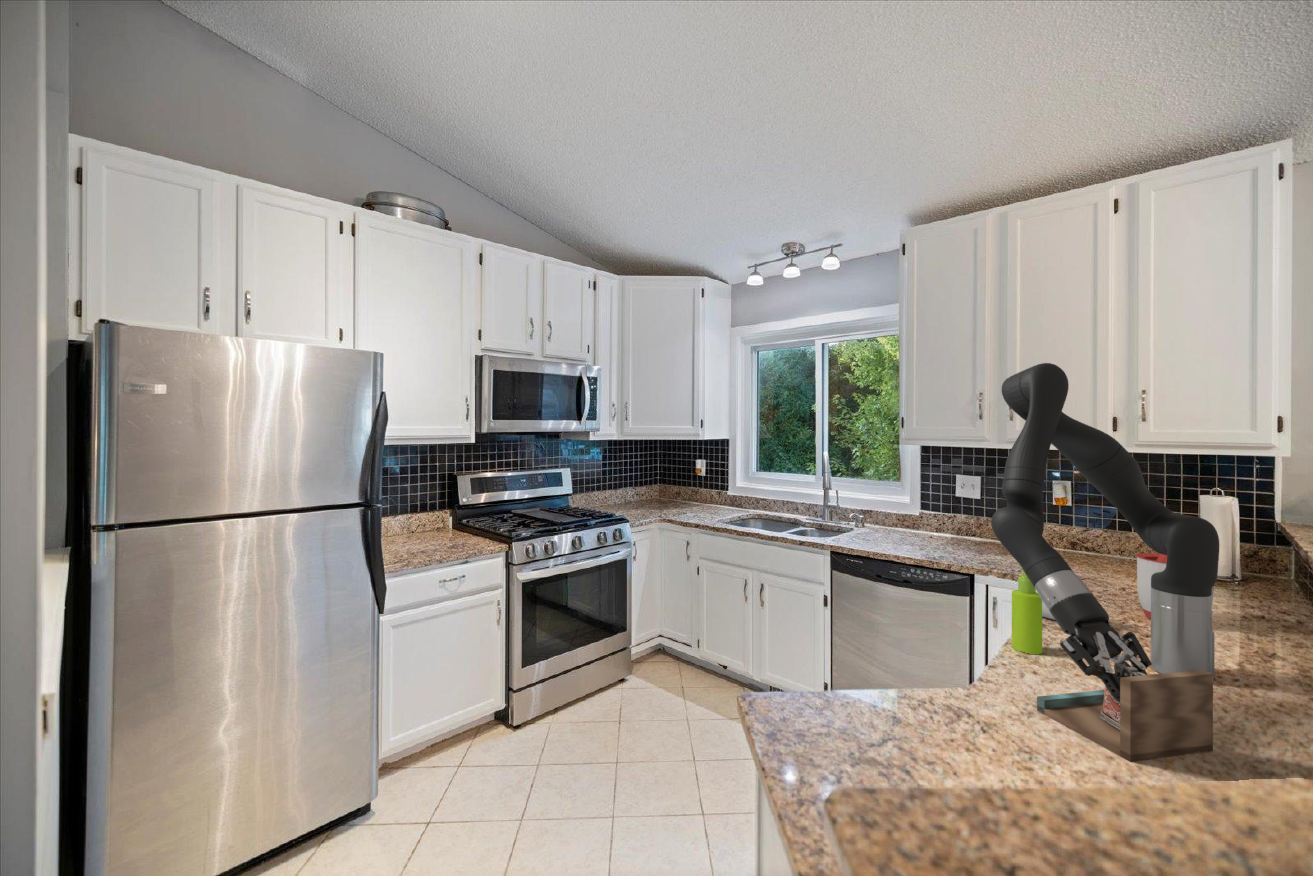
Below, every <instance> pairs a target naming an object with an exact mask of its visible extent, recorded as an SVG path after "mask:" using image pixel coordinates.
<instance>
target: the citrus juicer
mask: <svg viewBox="0 0 1313 876" xmlns="http://www.w3.org/2000/svg"><path fill="white" fill-rule="evenodd" d="M1135 557H1136V587H1137V588H1136V589H1137V596H1138V601H1139V602H1140V606H1141V610H1142V612H1143V614H1144V615H1145V617H1147V618H1149V619H1151V576H1152V575H1153V574H1154V573H1157V572H1162V571H1164V570H1165V568H1166V563H1167V555H1163V554H1160V553H1158V552H1156V553H1151V552H1150V553H1149V552H1142V553H1137V554H1135ZM1213 599H1214V586H1213V587H1212V603H1213V601H1214V600H1213Z"/></svg>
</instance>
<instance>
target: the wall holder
mask: <svg viewBox="0 0 1313 876" xmlns="http://www.w3.org/2000/svg"><path fill="white" fill-rule="evenodd" d="M1104 692H1105V689H1100V690H1090V691H1081V692H1080V691H1079V692H1069V693H1057V694H1048V695H1041V696H1039V695H1038V696H1037V695H1036V710H1037V712H1039V713H1041V714H1043V715H1045V716H1046V717H1049V718H1050V719H1051V720H1053V721H1055V722H1057V723H1059V724H1061V725H1063V726H1064V727H1065V728H1068V729H1070V730H1072V731H1074V732H1076V733H1078V734H1079V735H1081V736H1082V737H1085V738H1086V739H1088V740H1090V741H1092V742H1094V743H1096V744H1097V745H1099V746H1101V747H1103V748H1105V749H1106V750H1108V751H1109V752H1111V753H1114V754H1115V755H1117V756H1119V757H1121V758H1123V759H1125V760H1126V761H1129V762H1130V763H1131V762H1138V761H1145V760H1146V761H1147V760H1154V759H1160V758H1168V757H1169V758H1170V757H1175V756H1176V757H1178V756H1184V755H1191V754H1192V755H1193V754H1197V753H1200V754H1201V753H1206V752H1213V751H1214V677H1213V674H1212V673H1209V672H1207V671H1204V670H1195V671H1185V672H1174V673H1163V674H1161V673H1155V674H1148V675H1142V676H1132V677H1121V678H1120V730H1119V729H1117V728H1116V727H1114V726H1113V725H1111V724H1109V723H1108V722H1107V721H1105V720H1104V719H1102V718H1101V711H1102V710H1103V701H1104Z"/></svg>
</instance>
